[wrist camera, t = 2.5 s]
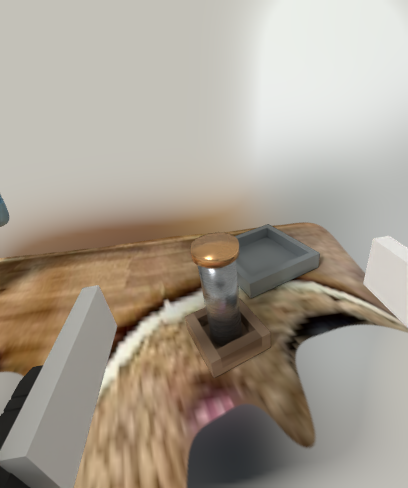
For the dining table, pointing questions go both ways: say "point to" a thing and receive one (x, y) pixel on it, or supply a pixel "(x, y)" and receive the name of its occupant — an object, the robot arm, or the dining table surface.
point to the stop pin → (219, 284)
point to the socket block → (234, 352)
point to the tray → (271, 259)
